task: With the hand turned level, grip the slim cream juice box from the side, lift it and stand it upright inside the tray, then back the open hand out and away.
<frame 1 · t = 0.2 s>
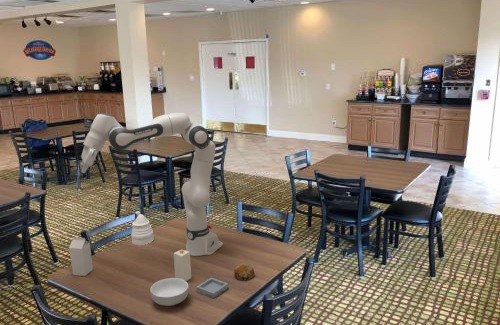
hand: (82, 170, 205), 54 cm above the table, tool tilted 30°, fingers open, 8 cm apart
milk carton: (83, 272, 218), on the table
cereal bowl: (170, 301, 190), on the table
tray: (212, 290, 198), on the table
bread roll: (244, 276, 210), on the table
honey pot: (142, 241, 256), on the table
juice box: (183, 278, 209), on the table
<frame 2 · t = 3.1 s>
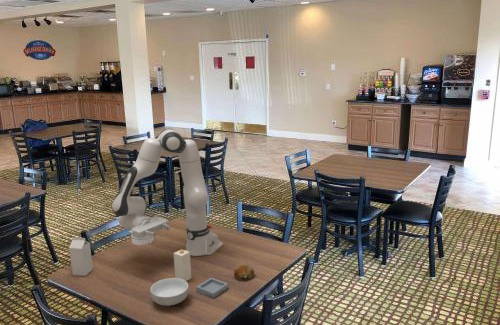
hand: (161, 231, 211), 22 cm above the table, tool horizontal, fingers open, 8 cm apart
nothing on the table moved.
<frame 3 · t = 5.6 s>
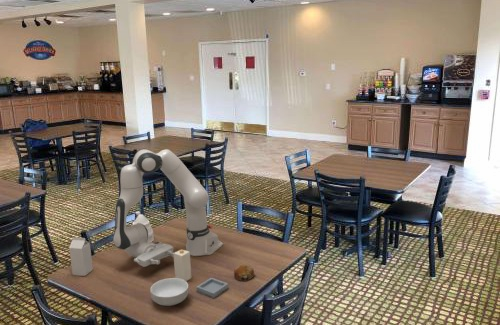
hand: (166, 259, 214), 8 cm above the table, tool horizontal, fingers open, 8 cm apart
nothing on the table moved.
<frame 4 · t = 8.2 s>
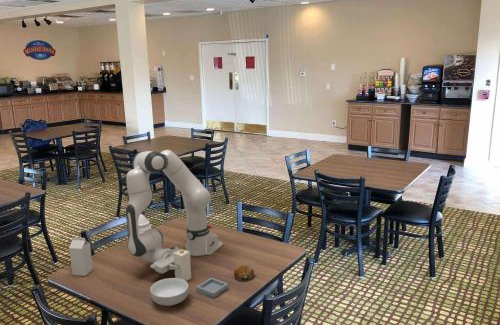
hand: (183, 265, 207), 8 cm above the table, tool horizontal, fingers closed on juice box, 5 cm apart
juice box: (183, 278, 209), on the table, touching gripper
everything else where it was.
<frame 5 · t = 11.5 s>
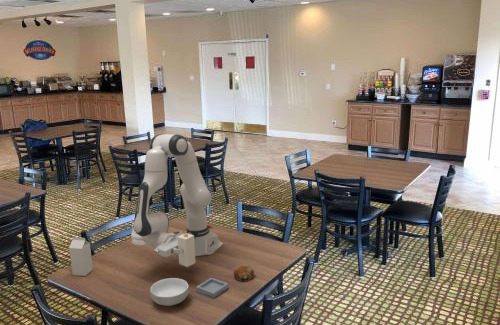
hand: (187, 249, 202), 17 cm above the table, tool horizontal, fingers closed on juice box, 5 cm apart
juice box: (187, 263, 204), point 9 cm above the table, touching gripper
everything else where it was.
when the fingers open (10 cm above the table, at t = 14.9 s): juice box drops 1 cm, resting on tray.
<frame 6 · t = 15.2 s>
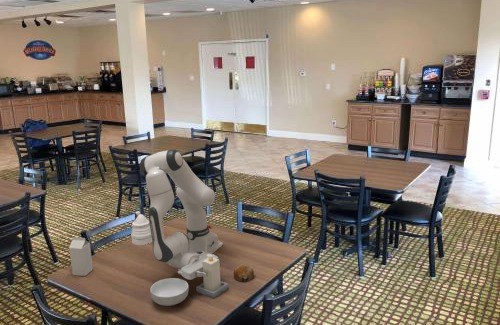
hand: (213, 271, 195), 10 cm above the table, tool horizontal, fingers open, 8 cm apart
juice box: (212, 288, 198), point 1 cm above the table, touching tray
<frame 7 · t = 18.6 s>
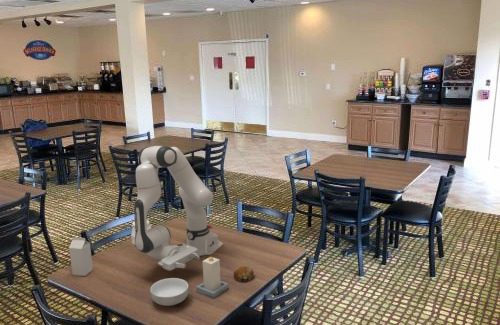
hand: (191, 262, 203), 11 cm above the table, tool horizontal, fingers open, 8 cm apart
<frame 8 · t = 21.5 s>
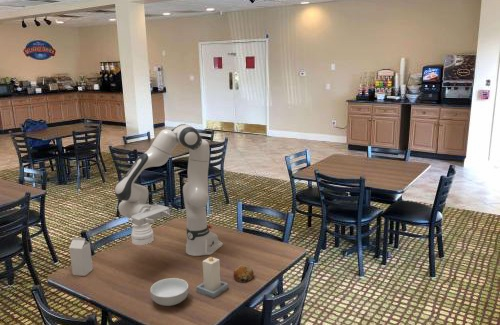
hand: (161, 218, 206), 30 cm above the table, tool horizontal, fingers open, 8 cm apart
at the end: juice box 0.1 cm off-centre on the tray, point 1.0 cm above the tray's base; juice box tilted 0°; the gripper is holding nothing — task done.
